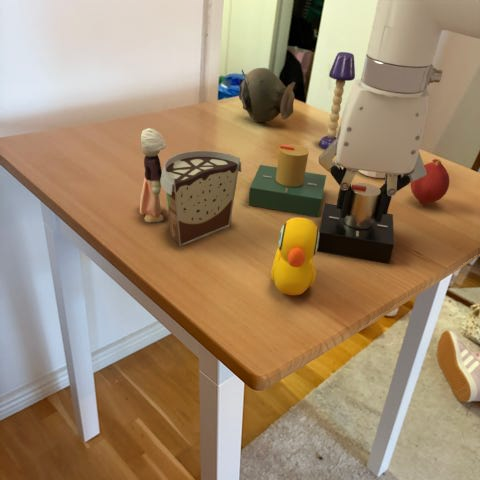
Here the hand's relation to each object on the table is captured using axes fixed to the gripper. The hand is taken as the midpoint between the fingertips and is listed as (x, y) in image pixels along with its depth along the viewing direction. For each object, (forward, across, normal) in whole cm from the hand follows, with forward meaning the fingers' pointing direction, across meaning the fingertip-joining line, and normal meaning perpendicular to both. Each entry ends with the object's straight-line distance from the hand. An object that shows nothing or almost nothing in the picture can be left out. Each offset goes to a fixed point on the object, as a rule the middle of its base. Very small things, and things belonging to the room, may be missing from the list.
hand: (359, 214), depth 73 cm
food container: (+5, +23, +2) cm, 24 cm away
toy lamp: (+5, +3, -36) cm, 37 cm away
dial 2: (+1, 0, 0) cm, 1 cm away
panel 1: (+4, +10, -11) cm, 15 cm away
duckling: (+5, +9, +14) cm, 17 cm away
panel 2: (+4, 0, 0) cm, 4 cm away
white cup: (+5, -5, -27) cm, 28 cm away
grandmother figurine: (+5, +29, 0) cm, 29 cm away
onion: (+5, -12, -15) cm, 20 cm away
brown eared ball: (+5, +17, -46) cm, 49 cm away
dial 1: (+1, +10, -11) cm, 15 cm away
